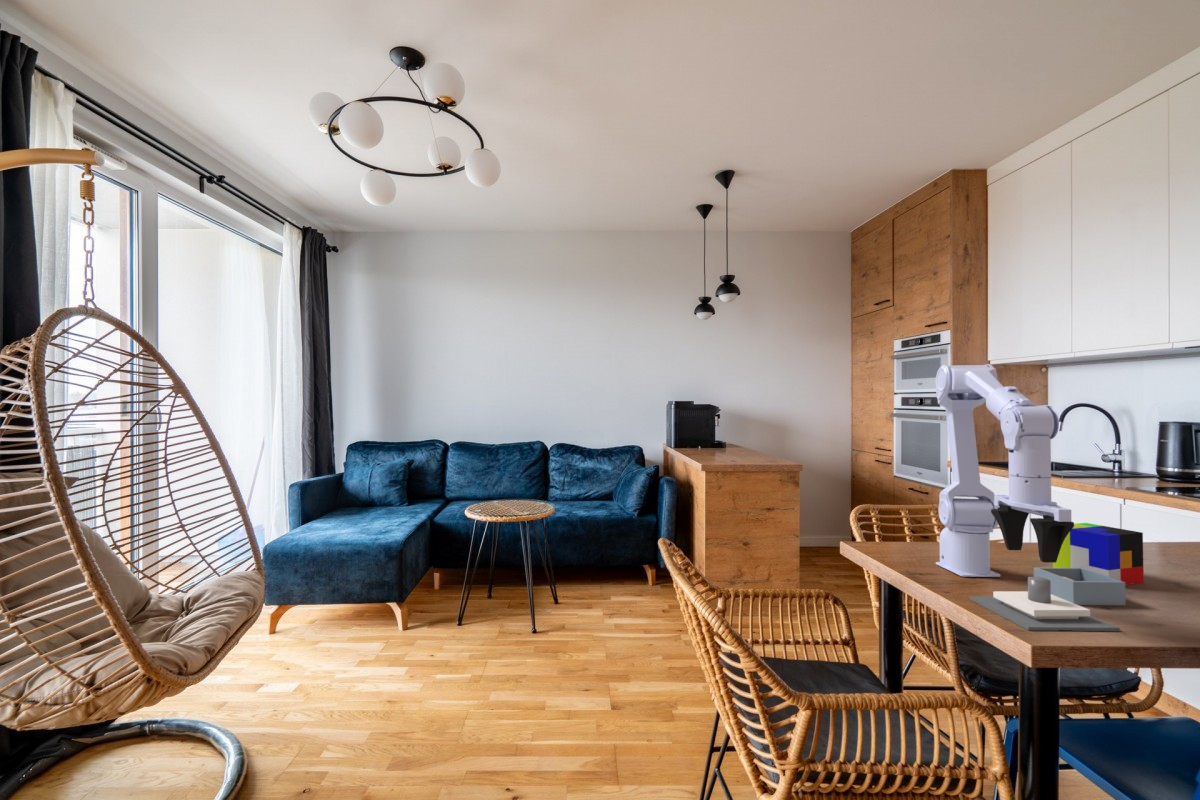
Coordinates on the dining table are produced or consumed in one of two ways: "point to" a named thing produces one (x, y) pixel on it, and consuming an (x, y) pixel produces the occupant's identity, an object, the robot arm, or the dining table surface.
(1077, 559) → the puzzle toy
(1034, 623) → the mat
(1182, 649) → the dining table surface
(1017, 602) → the lid
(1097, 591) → the storage box
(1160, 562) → the dining table surface
